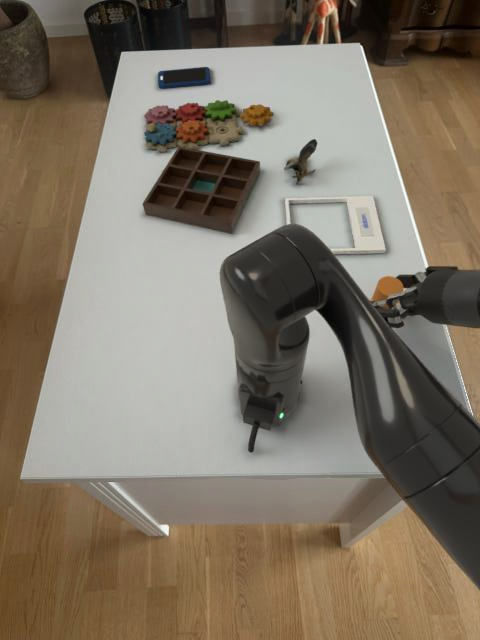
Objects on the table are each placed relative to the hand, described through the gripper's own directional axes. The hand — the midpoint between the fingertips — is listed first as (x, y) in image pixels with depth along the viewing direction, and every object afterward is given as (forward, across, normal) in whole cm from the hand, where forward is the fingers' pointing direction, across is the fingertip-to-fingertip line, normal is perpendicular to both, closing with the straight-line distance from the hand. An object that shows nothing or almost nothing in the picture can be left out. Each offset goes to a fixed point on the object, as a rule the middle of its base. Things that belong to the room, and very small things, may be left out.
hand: (380, 293), depth 73 cm
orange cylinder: (+3, 0, -4) cm, 5 cm away
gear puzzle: (+47, +7, +40) cm, 62 cm away
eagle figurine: (+28, +14, +22) cm, 38 cm away
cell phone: (+62, +14, +56) cm, 85 cm away
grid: (+34, -7, +27) cm, 44 cm away
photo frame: (+17, +8, +10) cm, 21 cm away
